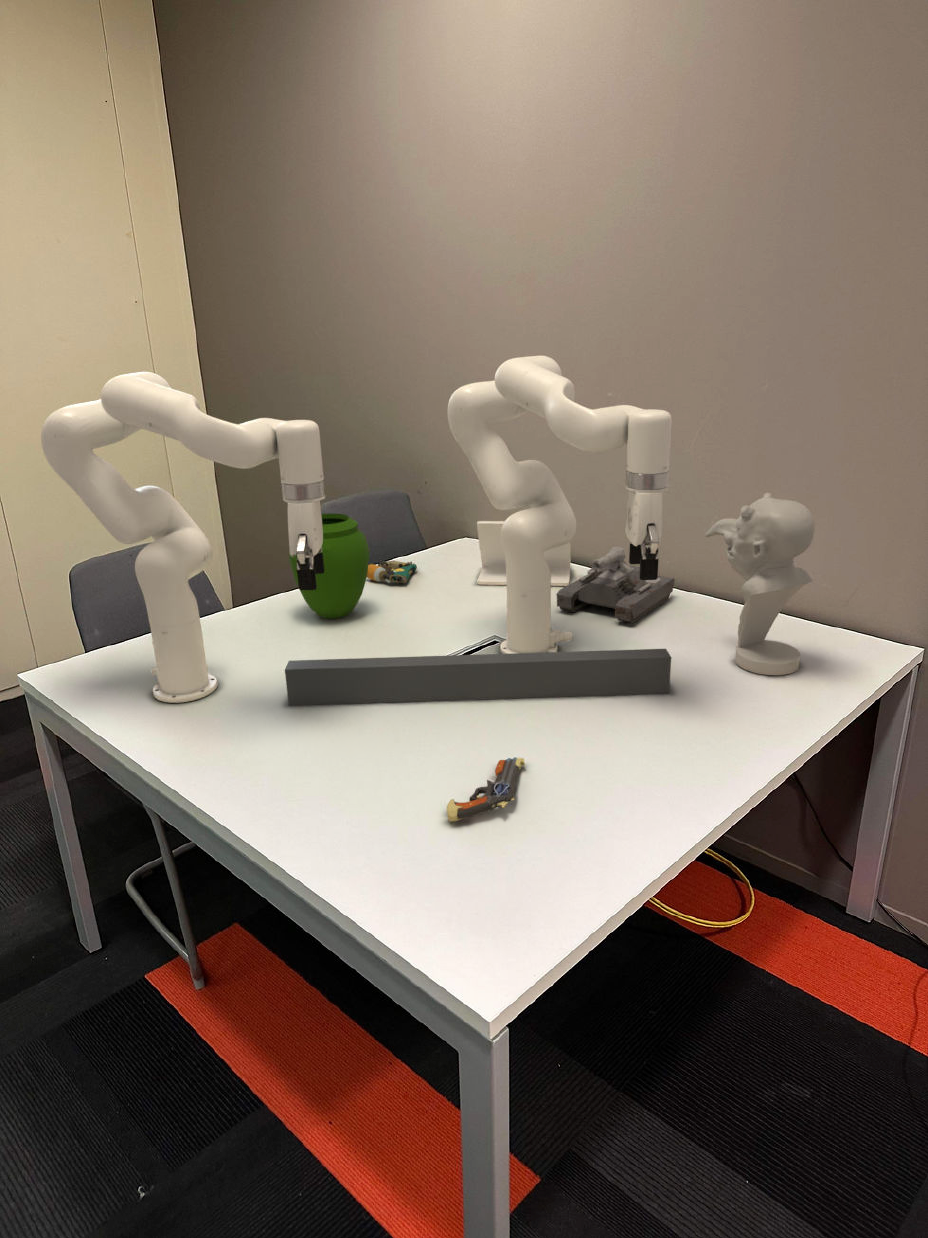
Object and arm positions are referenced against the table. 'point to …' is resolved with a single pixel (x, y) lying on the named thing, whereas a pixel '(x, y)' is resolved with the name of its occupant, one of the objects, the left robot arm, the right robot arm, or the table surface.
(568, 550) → the tablet stand
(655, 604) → the toy
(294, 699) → the post
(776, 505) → the bust sculpture
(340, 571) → the vase
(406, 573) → the spray gun
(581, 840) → the table surface
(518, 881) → the table surface
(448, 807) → the toy gun
